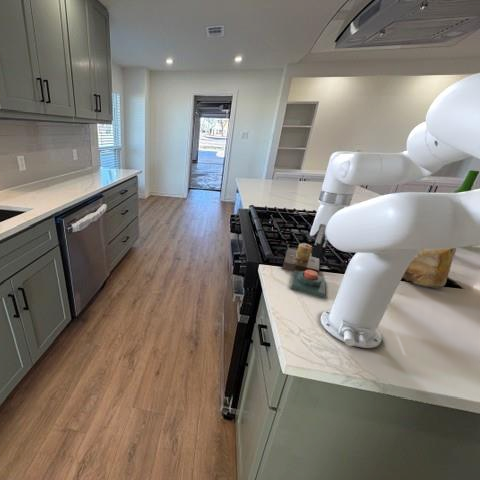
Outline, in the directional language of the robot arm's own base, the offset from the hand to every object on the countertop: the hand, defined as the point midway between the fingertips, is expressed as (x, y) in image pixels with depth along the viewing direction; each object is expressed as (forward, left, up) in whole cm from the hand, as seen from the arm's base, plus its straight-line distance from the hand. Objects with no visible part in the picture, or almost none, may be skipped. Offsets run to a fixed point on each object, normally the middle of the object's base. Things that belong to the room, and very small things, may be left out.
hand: (317, 257), depth 78 cm
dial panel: (+14, +3, -11) cm, 18 cm away
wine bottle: (+83, -54, -11) cm, 100 cm away
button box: (0, 0, -11) cm, 11 cm away
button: (0, 0, -7) cm, 8 cm away
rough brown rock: (+30, -32, -11) cm, 45 cm away
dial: (+14, +3, -8) cm, 17 cm away
